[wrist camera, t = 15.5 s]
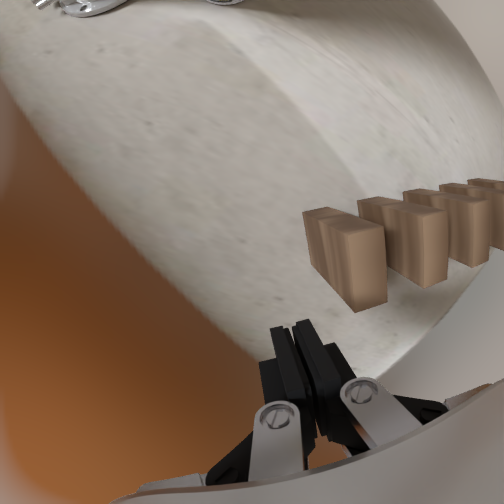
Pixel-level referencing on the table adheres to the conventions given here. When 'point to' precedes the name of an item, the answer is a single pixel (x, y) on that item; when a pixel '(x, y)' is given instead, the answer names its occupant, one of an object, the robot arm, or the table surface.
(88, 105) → the table surface
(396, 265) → the domino
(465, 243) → the domino
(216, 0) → the supplement bottle
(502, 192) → the domino
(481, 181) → the domino
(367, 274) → the domino
